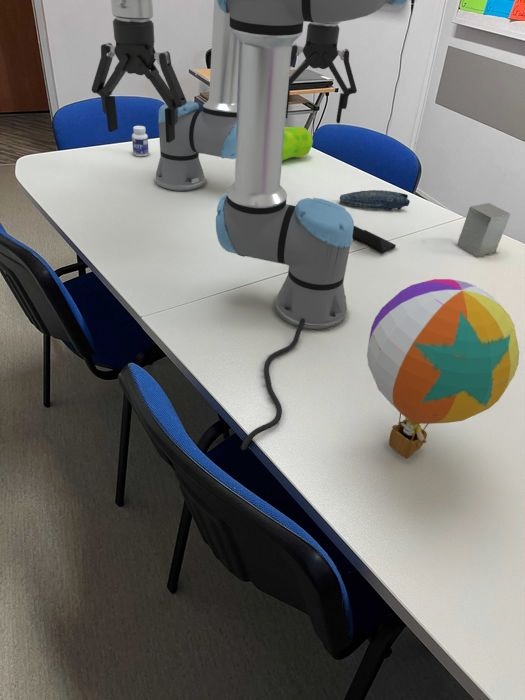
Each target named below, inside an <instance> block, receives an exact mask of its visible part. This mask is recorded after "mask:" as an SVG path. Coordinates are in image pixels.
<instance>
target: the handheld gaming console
mask: <svg viewBox="0 0 525 700" xmlns="http://www.w3.org/2000/svg"><path fill="white" fill-rule="evenodd" d="M352 238H353V241H355V242H357V243H359V244H362V245H364V246H366V247H368V248H369V249H371V250H373V251H374V252H377V253H379V254H381V255H383V254H385V253H387V252H389V251H391V250H394V249H396V246H397V245H396V244H395V243H393V242H391V241H389V240H387V239H385V238H383V237H381V236H378V235H376V234H374V233H372V232H370V231H368V230H367V229H362V228H360V227H358V226H356V225H354V228H353V235H352Z"/></svg>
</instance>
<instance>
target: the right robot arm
mask: <svg viewBox="0 0 525 700" xmlns="http://www.w3.org/2000/svg"><path fill="white" fill-rule="evenodd" d="M407 1H408V0H217V2H218V5H219V7H220V9H221V10H223V11H224V12H225V13H229V14H230V25H229V26H230V30H231V31H232V32H233V33H234V35H235V36H236V37H237V38H238V41H239V51H238V90H237V128H236V159H235V167H234V169H235V171H234V182H233V183H232V184H230V185H229V187H227V189H226V193H224V194H223V195H222V196H221V197H220V199H219V201H218V204H217V208H216V213H217V214H216V216H215V231H216V237H217V241H218V244H219V245H220V247H221V248H222V249H223V250H224V251H225V252H228V253H231V254H236V255H238V256H240V257H242V258H243V257H244V258H246V257H247V258H253V259H256V260H262V261H266V262H271V263H277V264H281V265H286V266H288V270H287V271H288V272H287V275H286V278H285V279H284V282H283V283H282V285H281V287H280V290H279V291H278V294H277V296H276V300H275V311H276V313H277V315H278V316H279V317H280V318H281V319H282V320H283V321H284V322H286V323H287V324H289V325H291V326H293V327H296V330H295V334H294V336H293V340H292V341H291V343H289V344H288V345H287V346H285V347H283V348H282V349H279V350H277V351H274V352H273V353H271V354H270V355H269V356H268V357H267V358H266V360H265V363H264V366H263V376H264V381H265V385H266V387H265V388H266V390H267V393H268V395H269V397H270V399H271V401H272V402H273V404H274V407H275V410H276V412H275V416H274V417H273V419H272V420H271V421H269V422H266V423H265V424H263V425H260V426H258V427H256V428H254V429H253V430H252V431H251V432H249V434H248V435H246V437H245V438H244V439H243V442H242V443H241V445H240V449H241V450H243V451H244V450H245V451H246V450H247V448H248V446H249V445H250V443H251V442H252V440H253V439H254V438H255V437H256V436H258V435H259V434H261V433H263V432H265V431H267V430H270V429H272V428H274V427H275V426H276V425H278V423H279V422H281V421H280V420H281V419H282V414H283V408H282V407H283V406H282V405H281V402H280V400H279V398H278V396H277V395H276V394H275V391H274V389H273V385H272V380H271V376H270V366H271V363H272V362H273V360H274V359H276V357H279V356H282V355H283V354H286V353H288V352H289V351H291V350H292V349H293V348H295V346H296V345H297V344H298V341H299V339H300V335H301V332H302V330H303V329H304V330H310V331H324V330H325V331H326V330H329V329H333V328H336V327H337V326H339V325H340V324H342V323H343V322H344V320H345V318H346V315H347V310H348V309H347V308H348V307H347V306H348V305H347V297H346V292H345V286H344V280H345V275H346V271H347V267H348V266H347V265H348V260H349V256H350V255H349V254H350V250H351V249H350V248H351V246H352V244H353V242H354V240H353V238H352V235H353V228H354V226H355V223H354V222H355V221H354V219H353V216H352V215H351V214H350V213H349V211H348V210H346V209H345V208H344V207H343V206H341V205H339V204H338V203H335V202H333V201H330V200H327V199H323V198H318V197H313V198H311V197H307V198H302V199H300V200H298V201H297V202H296V205H292V204H287V195H288V193H287V191H286V190H285V188H283V187H282V185H281V177H282V176H281V175H282V164H283V161H282V154H283V142H284V131H285V127H286V119H288V115H289V105H290V96H291V95H290V94H291V87H290V86H291V85H292V84H294V82H295V81H296V80H297V79H298V78H299V77H300V76H301V75H302V73H304V71H305V70H307V69H308V67H310V68H312V69H320V70H326V69H328V68H329V70H330V72H331V73H332V75H333V77H334V78H335V79H334V80H335V81H336V82H337V84H338V86H339V87H340V89H341V91H342V93H341V92H340V94H339V100H338V106H337V113H336V118H335V121H336V124H341V118H342V111H343V110H346V109H347V107H348V103H349V102H348V101H349V96H350V95H352V94H356V93H357V92H358V90H357V85H356V82H355V77H354V74H353V70H352V67H351V63H350V50H349V49H348V48H344V49H338V43H339V35H340V28H341V27H340V26H339V24H341V22H347V21H352V20H357V19H360V18H364V17H367V16H369V15H372V14H374V13H376V12H377V11H379V10H380V9H381V8H382V7H383V6H384V5H386V4H387V5H393V6H394V5H401V6H402V5H404V4H405V3H407ZM304 22H307V23H308V22H309V23H308V24H307V28H306V29H307V30H306V37H305V44H304V46H301V45H298V44H297V43H295V42H296V41H297V40H298V39H299V38H300V37H301V36H302V34H303V31H304ZM301 53H302V54H303V56H304V58H305V59H304V60H303V61H302V62H301V64H300V65H299V66H298V67H297V68H296V69H295V70H294V71H293V72H292V73H291V74H290V71H291V67H292V65H293V63H294V61H295V59H296V57H298V56H300V55H301ZM338 56H339V58H340V60H341V61H343V66H344V68H345V73H346V77H347V80H348V83H349V86H350V87H348V86H347V84H346V83H345V81H344V80H343V77H342V76H341V74H340V73H339V71H338V69H337V68H336V65H335V63H334V61H335V60H336V58H337V57H338Z"/></svg>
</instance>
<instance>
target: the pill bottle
mask: <svg viewBox="0 0 525 700" xmlns="http://www.w3.org/2000/svg"><path fill="white" fill-rule="evenodd" d="M132 129H133V133H132V134H131V141H132V142H131V143H132V153H133V156H136V157H147V156H148V155H149V154H150V153H149V151H150V150H149V136H148V134H147V133H146V130H147V129H146V126H144V125H135V126H133V128H132Z"/></svg>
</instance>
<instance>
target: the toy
mask: <svg viewBox="0 0 525 700" xmlns="http://www.w3.org/2000/svg"><path fill="white" fill-rule="evenodd" d="M517 337H518V336H517V333H516V328H515V323H514V321H513V320H512V318H511V315H510V314H509V313H508V311H507V310H506V309H505V308H504V306H502V304H501V303H500V302H499V300H498V299H496V297H494V296H493V295H492V294H490V293H489V292H487V291H486V290H484V289H482V288H481V287H479V286H477V285H475V284H471V283H469V282H466V281H462V280H457V279H451V278H433V279H430V280H426V281H422V282H419V283H414V284H411V285H409V286H407V287H405V288H403V289H401V290H400V291H399V292H398V293H397V294H395V296H393V297H392V298H391V299H389V301H388V302H386V304H384V305H383V306H382V307H381V308H380V310H379V311H378V313H377V314H376V315H375V318H374V319H373V322H372V325H371V328H370V332H369V337H368V344H367V350H366V359H367V365H368V368H369V371H370V372H371V373H370V374H371V375H372V378H373V380H374V382H375V385H376V388H377V390H378V391H379V392H380V393H381V394H382V395H383V397H384V398H385V399H386V400H387V401H388V402H389V403H390V404H391V405H392V406H393V407H394V408H395V410H397V411H398V412H399V418H398V423H397V424H393V425H392V427H391V428H392V429H391V430H390V433H389V436H388V445H389V447H390V448H391V449H392V450H394V451H395V452H397V453H398V454H399V455H400V456H402V457H403V458H404V459H409V458H410V457H411V456H413V455H414V454H416V453H417V452H418V451H419V450H421V448H422V447H423V445H424V444H426V443H427V437H428V432H427V431H426V428H427V427H428V425H432V424H447V423H456V422H457V423H458V422H463V421H466V420H468V419H470V418H472V417H474V416H476V415H478V414H481V413H483V412H485V411H487V410H489V409H490V408H492V406H494V405H495V404H497V402H499V401H500V399H501V398H502V396H503V395H504V393H505V391H506V390H507V389H508V387H509V385H510V383H511V382H512V381H513V378H514V377H515V375H516V372H517V369H518V366H519V360H520V359H519V358H520V348H519V344H518V343H519V342H518V338H517ZM402 416H403V417H405V419H404V420H401V419H402V418H401V417H402ZM423 424H424V425H425V424H426V425H425V426H424V428H422V426H421V425H423Z"/></svg>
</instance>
